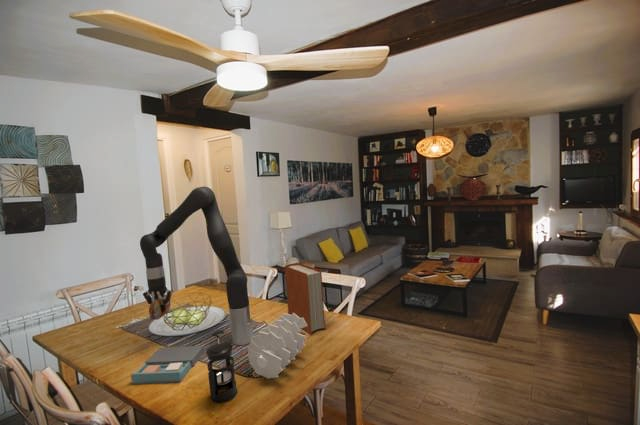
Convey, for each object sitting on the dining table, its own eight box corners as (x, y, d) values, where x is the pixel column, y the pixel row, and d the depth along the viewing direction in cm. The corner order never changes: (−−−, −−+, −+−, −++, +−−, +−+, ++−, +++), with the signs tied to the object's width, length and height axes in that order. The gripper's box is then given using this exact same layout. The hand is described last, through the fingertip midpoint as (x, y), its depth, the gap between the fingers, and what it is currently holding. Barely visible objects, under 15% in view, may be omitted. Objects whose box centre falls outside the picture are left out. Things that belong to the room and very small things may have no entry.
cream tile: (183, 368, 136) (182, 362, 136) (178, 375, 131) (177, 369, 131) (170, 369, 136) (170, 363, 136) (165, 376, 131) (164, 370, 131)
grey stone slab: (204, 352, 150) (203, 345, 149) (192, 367, 138) (192, 360, 137) (160, 354, 151) (159, 347, 150) (145, 369, 139) (144, 362, 138)
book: (325, 330, 163) (321, 270, 160) (311, 335, 159) (306, 274, 156) (301, 316, 182) (297, 262, 179) (288, 320, 178) (283, 265, 175)
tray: (191, 367, 138) (190, 358, 137) (180, 382, 128) (179, 372, 127) (146, 369, 138) (145, 360, 138) (132, 384, 128) (131, 374, 128)
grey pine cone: (254, 389, 126) (286, 353, 149) (290, 378, 119) (317, 342, 142) (232, 346, 127) (267, 317, 150) (266, 333, 120) (297, 304, 142)
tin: (155, 322, 149) (153, 304, 148) (148, 322, 149) (146, 304, 148) (171, 309, 164) (170, 292, 163) (165, 308, 164) (164, 292, 163)
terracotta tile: (161, 370, 135) (160, 364, 135) (154, 378, 130) (153, 372, 130) (149, 371, 135) (148, 365, 135) (142, 378, 130) (141, 372, 130)
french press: (220, 383, 125) (214, 324, 123) (243, 386, 122) (237, 326, 120) (201, 404, 114) (194, 340, 111) (226, 407, 111) (219, 342, 109)
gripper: (174, 272, 158) (178, 308, 159) (145, 274, 158) (150, 309, 160) (166, 277, 150) (170, 314, 152) (136, 279, 151) (141, 316, 152)
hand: (160, 311), depth 156 cm, fingers closed on tin, 2 cm apart
